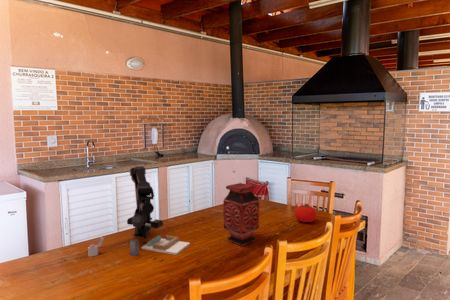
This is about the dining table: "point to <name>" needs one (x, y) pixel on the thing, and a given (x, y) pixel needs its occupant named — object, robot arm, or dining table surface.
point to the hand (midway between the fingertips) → (145, 238)
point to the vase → (241, 213)
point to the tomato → (305, 213)
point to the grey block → (134, 247)
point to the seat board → (167, 245)
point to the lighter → (94, 248)
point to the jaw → (154, 240)
